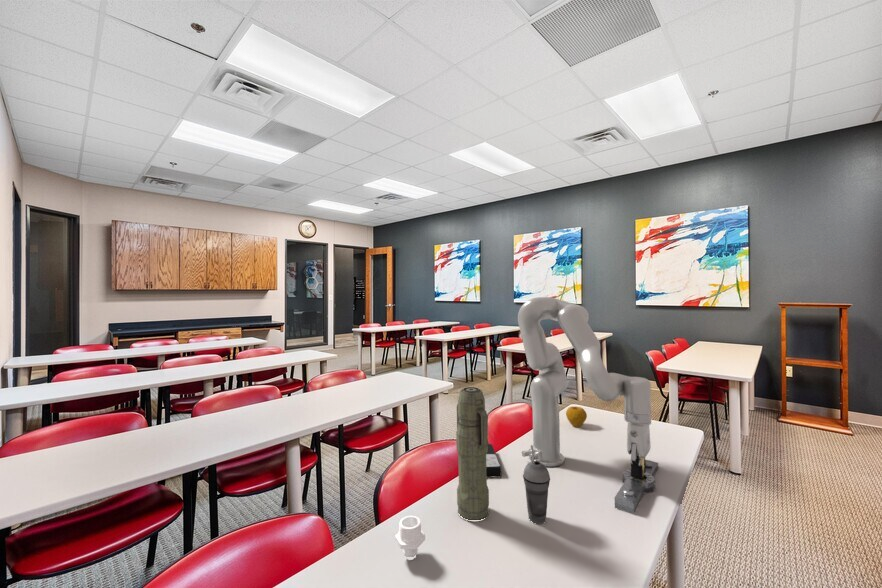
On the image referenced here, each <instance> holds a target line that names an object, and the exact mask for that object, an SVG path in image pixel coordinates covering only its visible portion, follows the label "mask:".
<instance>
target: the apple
mask: <svg viewBox="0 0 882 588" xmlns="http://www.w3.org/2000/svg"><path fill="white" fill-rule="evenodd" d="M565 415H566V418H567V420H568V422H569V423H570V424H571V425H572V426H573V427H574V428H580V427H581V426H583V425H584V423H585V422H586V420H587V417H588V414H587V411H586V410H585V409H584V408H582V407H580V406H569V407H568V408H567V409H566V412H565Z"/></svg>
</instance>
